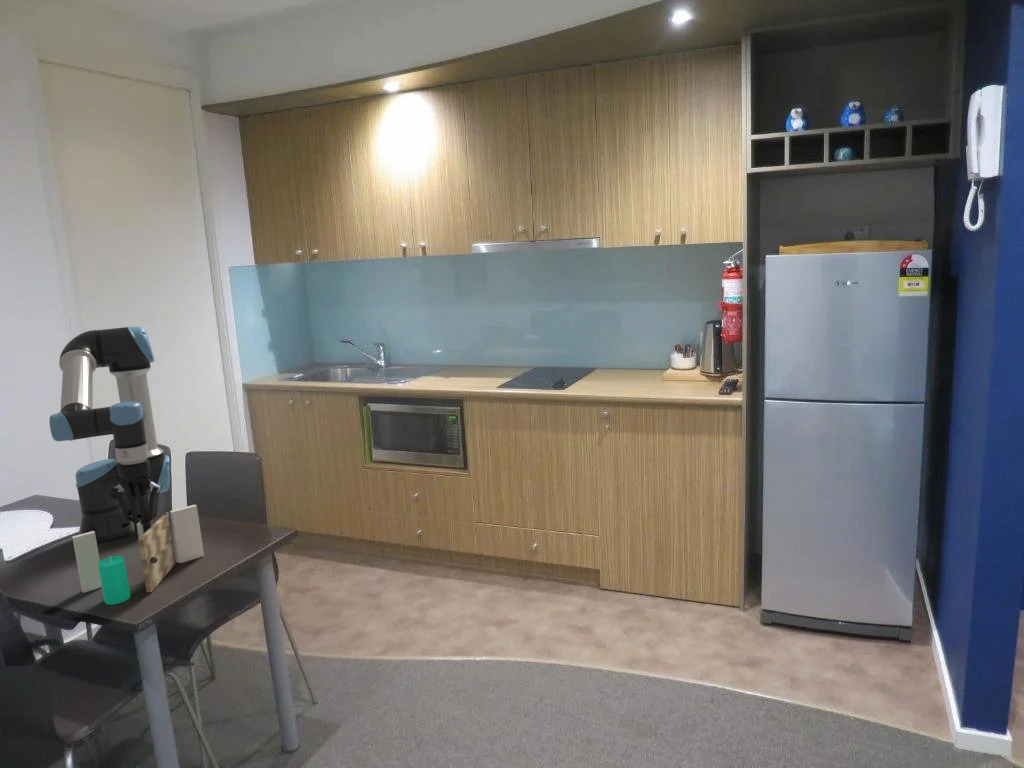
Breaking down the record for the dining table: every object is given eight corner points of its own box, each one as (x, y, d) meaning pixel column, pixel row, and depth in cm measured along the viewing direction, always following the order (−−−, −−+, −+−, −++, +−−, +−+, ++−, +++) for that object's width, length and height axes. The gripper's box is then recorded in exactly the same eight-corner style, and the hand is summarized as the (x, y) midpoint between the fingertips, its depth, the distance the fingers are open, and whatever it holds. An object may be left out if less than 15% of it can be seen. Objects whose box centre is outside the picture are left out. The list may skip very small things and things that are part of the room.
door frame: (82, 590, 193) (72, 536, 190) (202, 554, 212) (195, 504, 209) (83, 592, 191) (73, 538, 188) (204, 555, 211) (196, 505, 208)
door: (170, 564, 205) (163, 515, 202) (181, 563, 206) (173, 514, 203) (146, 592, 189) (138, 539, 186) (157, 591, 189) (149, 538, 186)
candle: (112, 593, 190) (104, 551, 188) (135, 592, 190) (127, 549, 188) (99, 605, 184) (91, 561, 182) (123, 603, 184) (115, 559, 182)
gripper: (101, 465, 189) (114, 550, 193) (148, 464, 187) (160, 550, 192) (118, 457, 196) (130, 539, 200) (164, 456, 195) (175, 539, 199)
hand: (145, 544), depth 196 cm, fingers closed
